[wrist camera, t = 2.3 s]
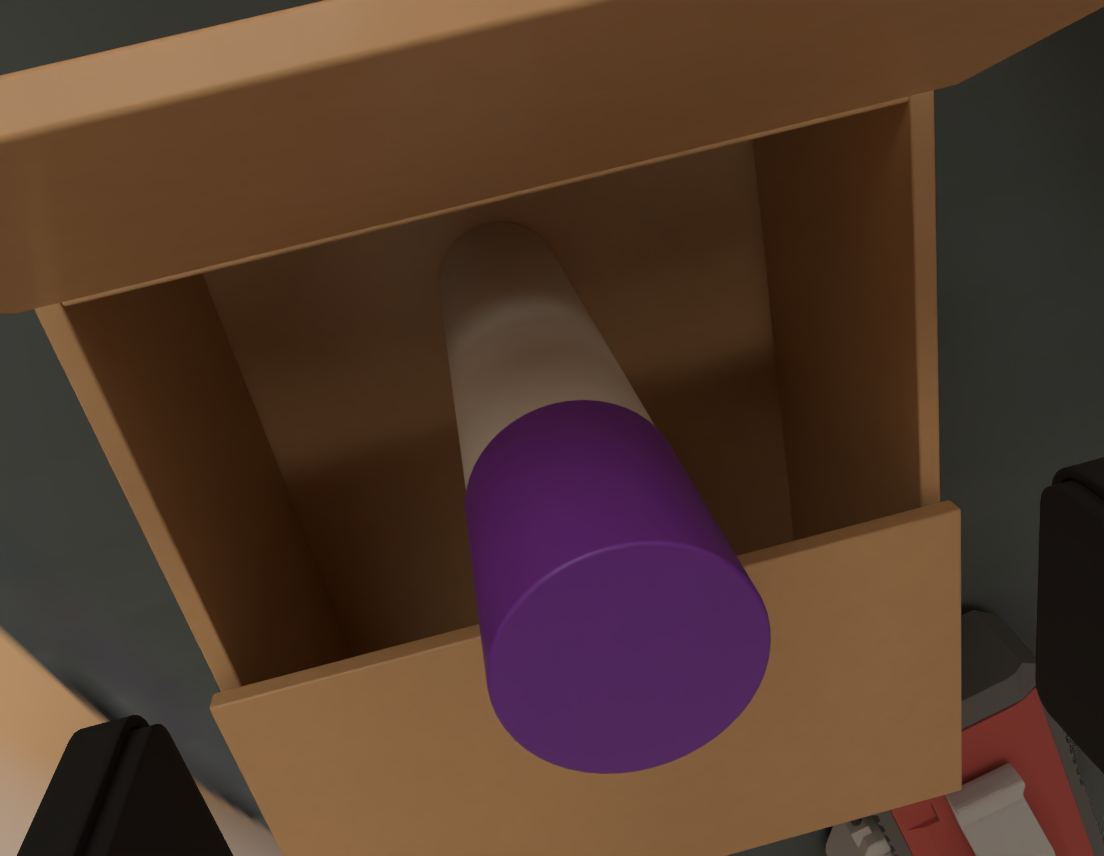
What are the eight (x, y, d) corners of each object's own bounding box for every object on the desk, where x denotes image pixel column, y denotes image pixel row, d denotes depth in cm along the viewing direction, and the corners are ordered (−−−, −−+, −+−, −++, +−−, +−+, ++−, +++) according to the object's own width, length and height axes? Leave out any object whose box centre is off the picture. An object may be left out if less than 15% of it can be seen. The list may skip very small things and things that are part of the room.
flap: (11, 315, 13) (3, 286, 13) (958, 85, 13) (953, 56, 13) (-617, 289, 5) (-645, 221, 5) (1523, -216, 6) (1516, -280, 6)
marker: (422, 236, 21) (453, 588, 9) (547, 205, 21) (758, 509, 9) (454, 354, 23) (522, 805, 10) (572, 324, 23) (784, 733, 10)
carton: (153, 185, 20) (0, 305, 12) (754, 42, 21) (963, 73, 13) (354, 685, 27) (335, 967, 19) (804, 565, 27) (964, 792, 20)
